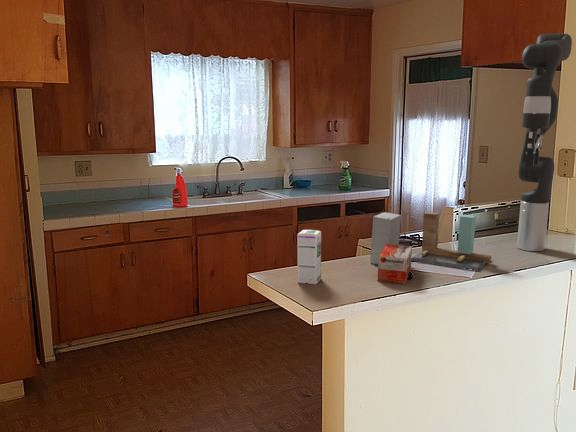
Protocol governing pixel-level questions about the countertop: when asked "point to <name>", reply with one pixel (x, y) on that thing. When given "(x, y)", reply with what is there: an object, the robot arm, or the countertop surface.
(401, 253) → the medicine box
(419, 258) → the flange plate
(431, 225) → the wooden l-shaped stand
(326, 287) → the countertop surface
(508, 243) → the countertop surface
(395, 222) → the skincare box
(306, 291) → the countertop surface
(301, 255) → the syrup box
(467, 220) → the block
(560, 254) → the countertop surface
